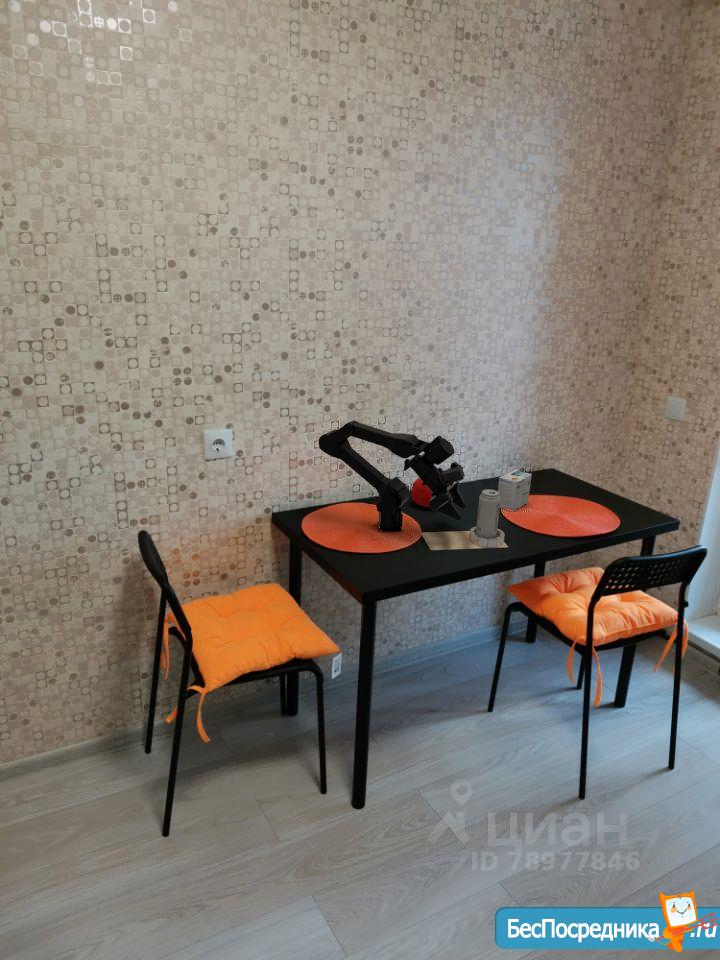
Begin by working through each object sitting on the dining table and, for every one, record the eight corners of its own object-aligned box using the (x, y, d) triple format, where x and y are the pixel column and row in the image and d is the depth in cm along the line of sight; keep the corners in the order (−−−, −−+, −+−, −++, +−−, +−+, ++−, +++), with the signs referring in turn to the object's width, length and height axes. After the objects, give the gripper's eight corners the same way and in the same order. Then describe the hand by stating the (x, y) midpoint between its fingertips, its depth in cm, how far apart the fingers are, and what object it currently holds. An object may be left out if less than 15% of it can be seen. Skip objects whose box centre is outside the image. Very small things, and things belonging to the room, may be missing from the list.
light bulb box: (510, 498, 251) (514, 468, 247) (528, 503, 247) (532, 473, 243) (495, 507, 243) (498, 476, 240) (513, 512, 239) (517, 481, 236)
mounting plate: (430, 553, 207) (430, 550, 207) (420, 536, 219) (420, 532, 218) (508, 550, 211) (508, 547, 211) (494, 533, 222) (494, 530, 222)
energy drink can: (475, 535, 218) (480, 487, 213) (495, 537, 217) (501, 489, 212) (474, 543, 212) (479, 495, 207) (495, 545, 212) (501, 497, 206)
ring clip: (475, 548, 209) (476, 540, 209) (465, 534, 218) (465, 526, 218) (508, 547, 211) (509, 539, 210) (496, 533, 220) (497, 525, 219)
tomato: (452, 511, 238) (454, 482, 234) (413, 512, 236) (415, 482, 233) (443, 498, 248) (446, 470, 245) (407, 499, 247) (408, 470, 243)
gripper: (444, 466, 201) (480, 509, 202) (454, 447, 218) (487, 487, 219) (413, 489, 206) (449, 531, 207) (426, 468, 223) (458, 507, 224)
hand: (462, 513), depth 214 cm, fingers open, 9 cm apart
